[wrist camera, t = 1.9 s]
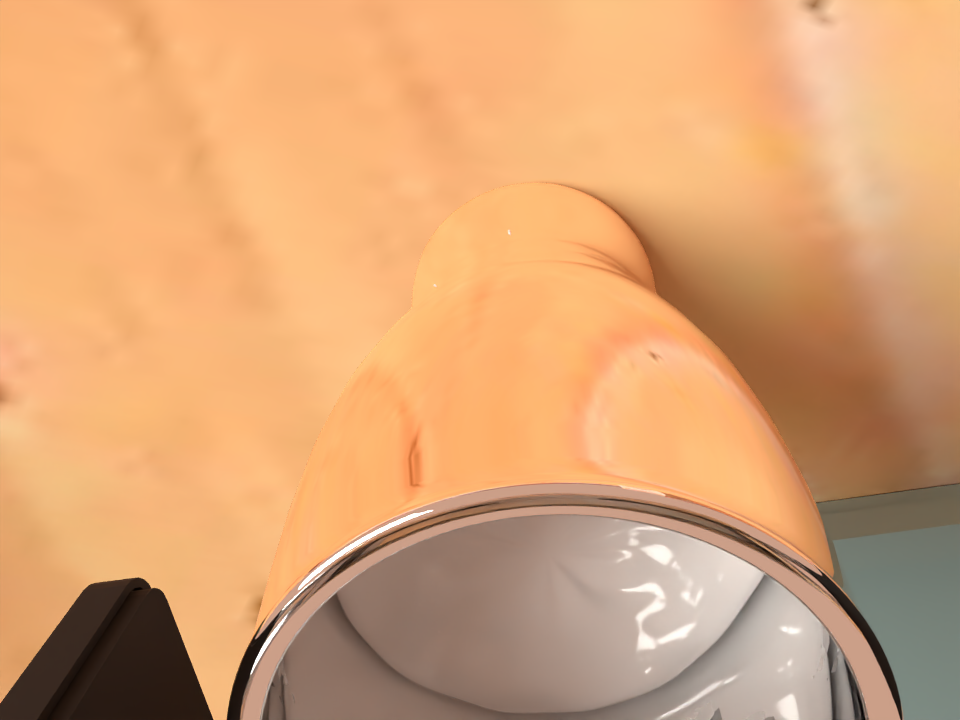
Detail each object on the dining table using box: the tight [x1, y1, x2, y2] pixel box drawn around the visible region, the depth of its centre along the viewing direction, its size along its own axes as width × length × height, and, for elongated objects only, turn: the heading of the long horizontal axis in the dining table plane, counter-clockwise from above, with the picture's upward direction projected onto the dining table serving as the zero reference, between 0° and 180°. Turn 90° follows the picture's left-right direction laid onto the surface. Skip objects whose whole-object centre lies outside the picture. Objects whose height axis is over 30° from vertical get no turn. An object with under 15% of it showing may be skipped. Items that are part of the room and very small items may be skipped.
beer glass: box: [227, 183, 904, 720], centre depth 16 cm, size 7×7×15 cm
